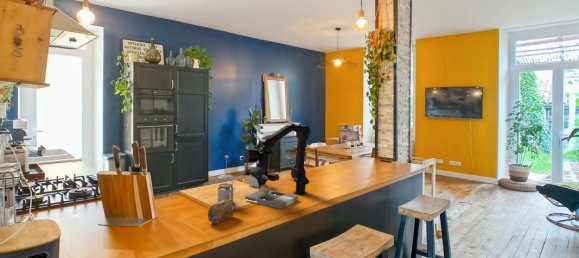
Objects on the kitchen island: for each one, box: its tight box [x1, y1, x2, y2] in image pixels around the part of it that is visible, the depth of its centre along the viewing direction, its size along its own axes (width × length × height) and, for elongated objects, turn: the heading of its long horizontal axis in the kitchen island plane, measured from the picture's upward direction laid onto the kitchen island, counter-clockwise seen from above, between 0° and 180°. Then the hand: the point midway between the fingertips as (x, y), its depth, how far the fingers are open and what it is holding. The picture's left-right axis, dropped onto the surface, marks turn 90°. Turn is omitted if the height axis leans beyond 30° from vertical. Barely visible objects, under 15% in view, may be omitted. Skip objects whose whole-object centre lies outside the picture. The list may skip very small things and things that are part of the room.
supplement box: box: [248, 163, 259, 188], centre depth 204 cm, size 7×7×13 cm
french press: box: [217, 154, 236, 202], centre depth 166 cm, size 10×12×25 cm
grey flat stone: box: [207, 200, 236, 225], centre depth 144 cm, size 15×3×8 cm, turn 148°
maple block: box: [258, 183, 272, 196], centre depth 177 cm, size 4×4×4 cm
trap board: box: [244, 190, 299, 210], centre depth 175 cm, size 18×22×2 cm
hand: (260, 189), depth 178 cm, fingers closed, pressing on maple block
